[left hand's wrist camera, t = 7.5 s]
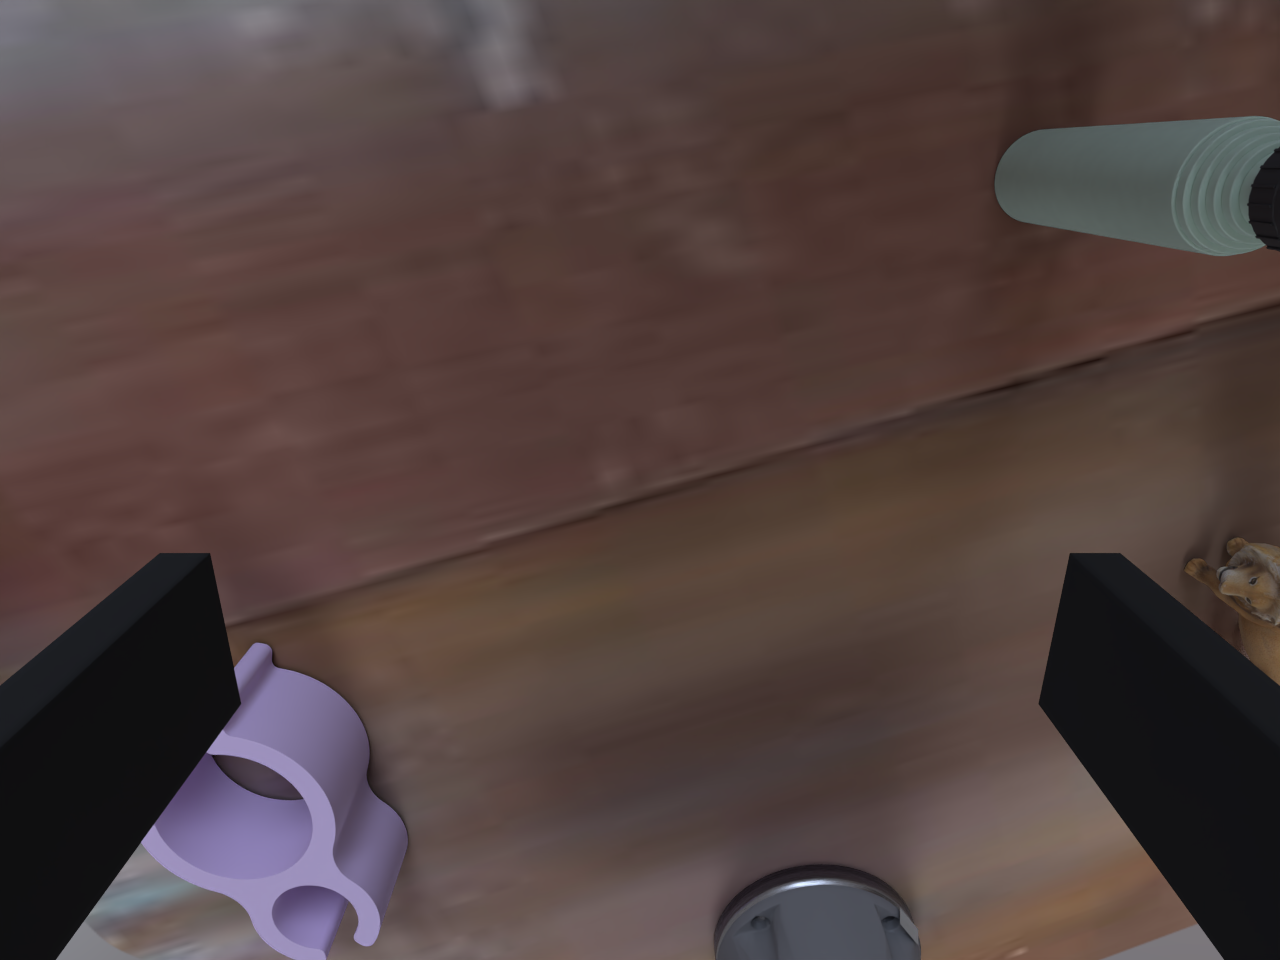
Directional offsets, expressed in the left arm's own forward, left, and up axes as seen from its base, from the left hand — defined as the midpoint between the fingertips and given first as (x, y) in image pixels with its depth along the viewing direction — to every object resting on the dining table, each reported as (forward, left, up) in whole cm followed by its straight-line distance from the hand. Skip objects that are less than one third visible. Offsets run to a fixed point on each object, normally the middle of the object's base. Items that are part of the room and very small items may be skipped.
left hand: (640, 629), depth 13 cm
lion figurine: (-19, -36, -36) cm, 54 cm away
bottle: (+6, -21, -36) cm, 42 cm away
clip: (-33, +24, -36) cm, 54 cm away
